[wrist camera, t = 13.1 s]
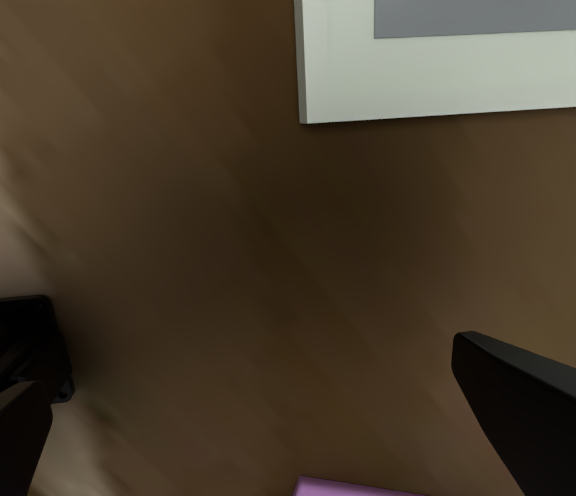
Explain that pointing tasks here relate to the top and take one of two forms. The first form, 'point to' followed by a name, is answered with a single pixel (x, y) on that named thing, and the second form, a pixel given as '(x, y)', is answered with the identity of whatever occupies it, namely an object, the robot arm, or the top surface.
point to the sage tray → (432, 57)
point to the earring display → (340, 489)
